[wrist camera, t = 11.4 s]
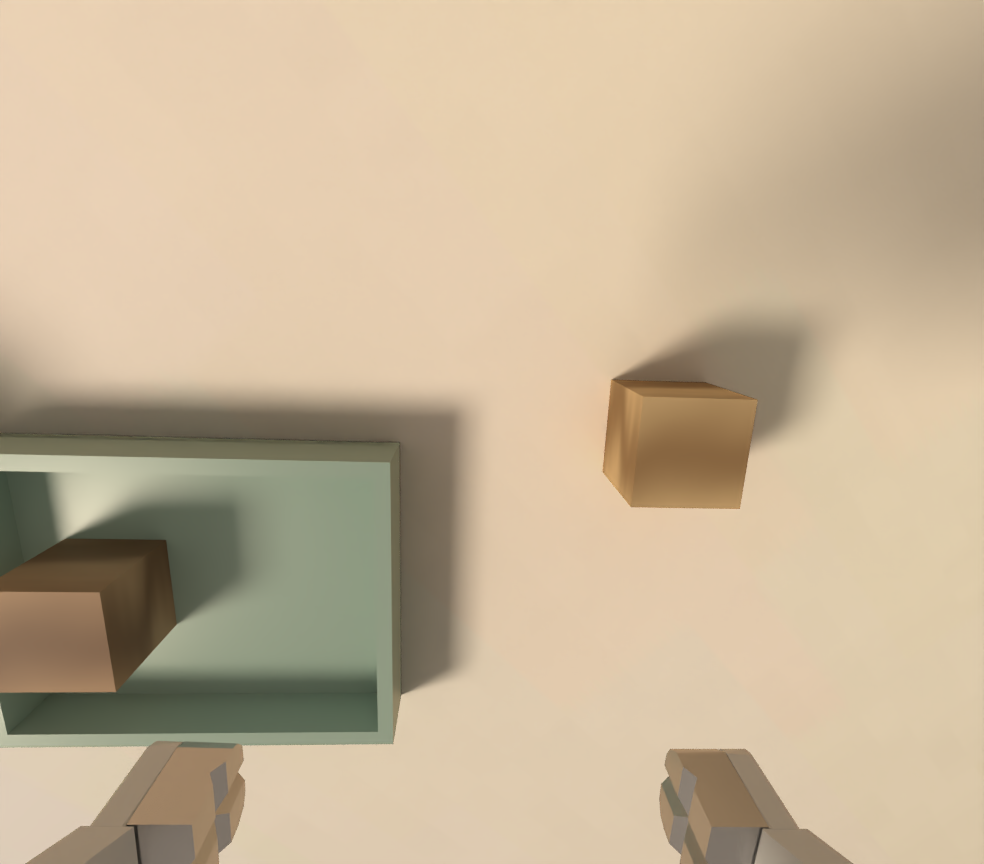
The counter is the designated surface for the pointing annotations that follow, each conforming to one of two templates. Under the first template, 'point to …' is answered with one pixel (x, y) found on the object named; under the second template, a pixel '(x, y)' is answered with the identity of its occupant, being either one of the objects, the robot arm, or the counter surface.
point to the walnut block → (84, 615)
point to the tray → (225, 585)
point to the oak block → (678, 443)
